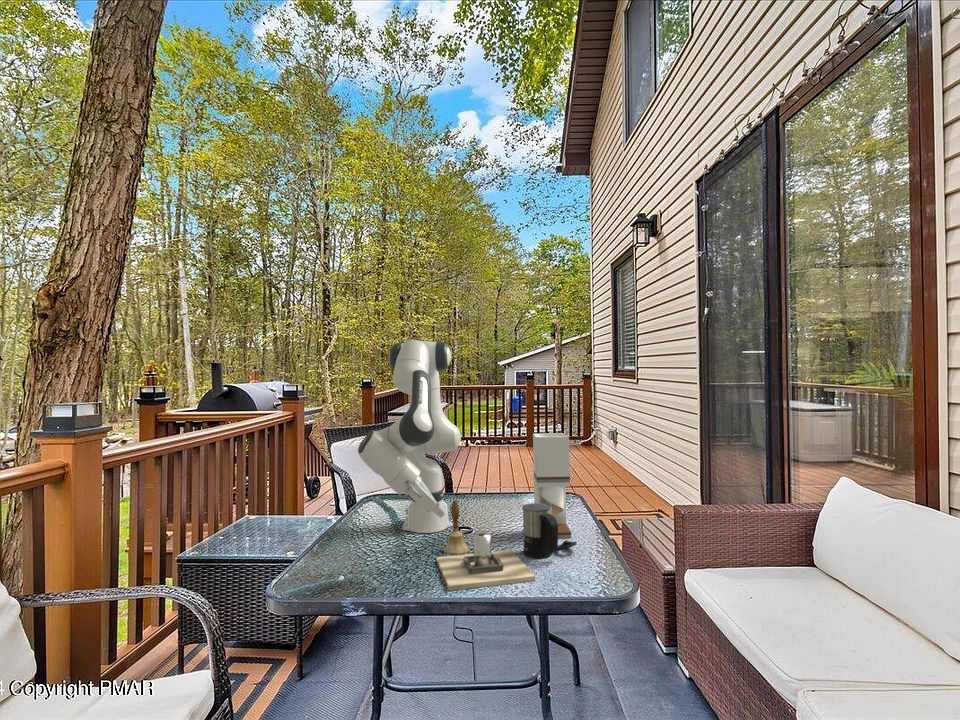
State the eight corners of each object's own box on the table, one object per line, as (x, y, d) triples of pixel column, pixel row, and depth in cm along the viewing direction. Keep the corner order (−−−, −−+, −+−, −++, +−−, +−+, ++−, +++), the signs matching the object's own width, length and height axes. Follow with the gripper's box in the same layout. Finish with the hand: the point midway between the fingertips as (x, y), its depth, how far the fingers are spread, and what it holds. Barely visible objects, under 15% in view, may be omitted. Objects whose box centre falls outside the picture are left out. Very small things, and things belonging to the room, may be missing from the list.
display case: (538, 538, 172) (536, 437, 173) (534, 529, 182) (532, 433, 184) (571, 538, 172) (569, 436, 173) (566, 528, 182) (563, 433, 184)
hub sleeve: (472, 563, 146) (471, 532, 146) (489, 561, 147) (488, 530, 148) (476, 570, 141) (475, 537, 142) (493, 568, 142) (492, 536, 143)
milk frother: (516, 554, 157) (516, 506, 158) (545, 541, 169) (544, 497, 169) (554, 565, 148) (553, 514, 148) (582, 550, 159) (581, 504, 160)
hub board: (436, 561, 152) (436, 552, 152) (511, 553, 158) (511, 544, 158) (448, 590, 131) (448, 580, 131) (535, 580, 136) (534, 570, 136)
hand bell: (449, 556, 156) (448, 505, 157) (439, 548, 164) (439, 499, 164) (473, 552, 160) (472, 502, 160) (463, 544, 167) (462, 496, 168)
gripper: (417, 477, 131) (454, 511, 133) (409, 464, 150) (441, 494, 152) (400, 495, 129) (437, 530, 131) (394, 480, 149) (427, 510, 151)
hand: (440, 511), depth 142 cm, fingers open, 8 cm apart
